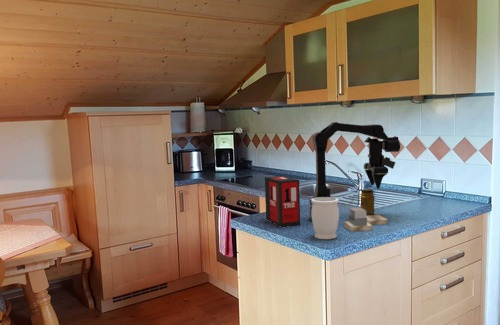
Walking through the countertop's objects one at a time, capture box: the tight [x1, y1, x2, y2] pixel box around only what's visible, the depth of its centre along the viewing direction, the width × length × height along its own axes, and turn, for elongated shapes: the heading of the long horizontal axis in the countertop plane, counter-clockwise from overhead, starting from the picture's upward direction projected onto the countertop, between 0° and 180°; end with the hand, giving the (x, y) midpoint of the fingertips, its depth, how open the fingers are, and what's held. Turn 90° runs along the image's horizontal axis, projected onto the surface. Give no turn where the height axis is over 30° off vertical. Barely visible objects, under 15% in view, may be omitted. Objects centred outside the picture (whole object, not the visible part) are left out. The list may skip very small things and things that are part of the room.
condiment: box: [360, 188, 379, 216], centre depth 206 cm, size 7×8×12 cm
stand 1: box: [343, 220, 373, 233], centre depth 184 cm, size 9×9×2 cm
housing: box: [348, 206, 367, 226], centre depth 183 cm, size 5×7×6 cm
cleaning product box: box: [264, 175, 301, 228], centre depth 197 cm, size 16×9×20 cm, turn 22°
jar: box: [310, 197, 340, 240], centre depth 172 cm, size 11×10×15 cm
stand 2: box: [366, 214, 389, 226], centre depth 193 cm, size 9×9×2 cm
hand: (375, 186), depth 199 cm, fingers open, 9 cm apart
